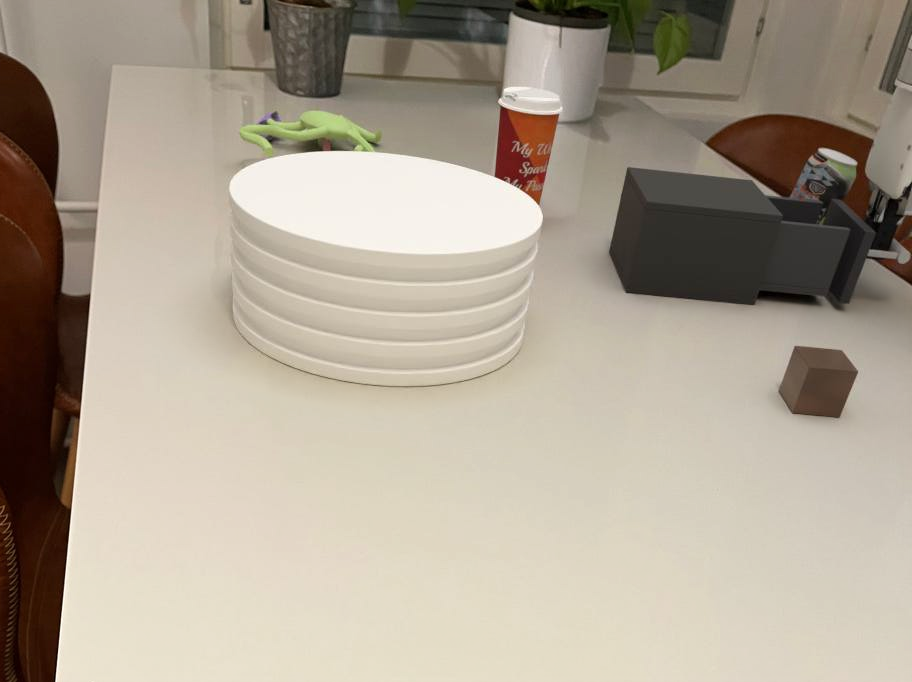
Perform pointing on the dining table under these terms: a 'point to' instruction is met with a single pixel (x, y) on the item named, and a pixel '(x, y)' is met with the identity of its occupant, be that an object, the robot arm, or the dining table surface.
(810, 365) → the block
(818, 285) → the dark grey panel
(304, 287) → the plate stack
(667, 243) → the dark grey box
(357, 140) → the figurine
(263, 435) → the dining table surface
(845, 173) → the beverage can
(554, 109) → the paper cup
